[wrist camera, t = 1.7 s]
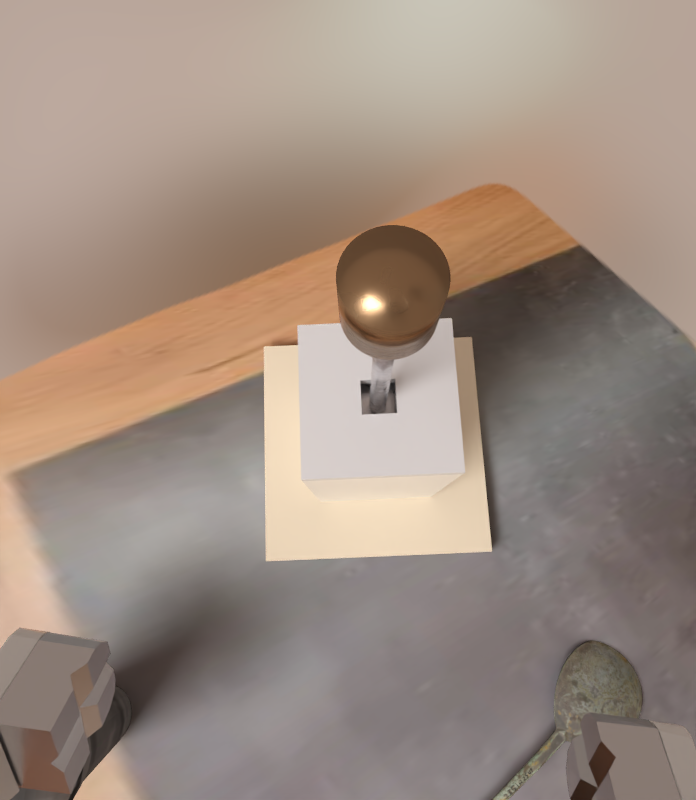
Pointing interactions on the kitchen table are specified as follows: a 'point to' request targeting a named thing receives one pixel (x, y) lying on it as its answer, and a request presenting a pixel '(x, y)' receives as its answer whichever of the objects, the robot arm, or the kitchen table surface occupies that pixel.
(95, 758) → the beverage cup
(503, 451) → the kitchen table surface
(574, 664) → the soupspoon
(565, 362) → the kitchen table surface
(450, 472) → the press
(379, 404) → the plunger
